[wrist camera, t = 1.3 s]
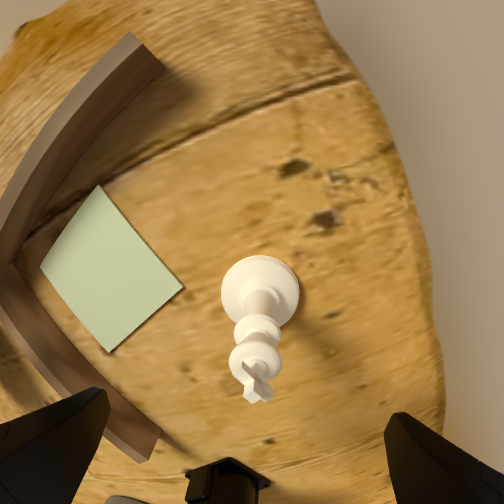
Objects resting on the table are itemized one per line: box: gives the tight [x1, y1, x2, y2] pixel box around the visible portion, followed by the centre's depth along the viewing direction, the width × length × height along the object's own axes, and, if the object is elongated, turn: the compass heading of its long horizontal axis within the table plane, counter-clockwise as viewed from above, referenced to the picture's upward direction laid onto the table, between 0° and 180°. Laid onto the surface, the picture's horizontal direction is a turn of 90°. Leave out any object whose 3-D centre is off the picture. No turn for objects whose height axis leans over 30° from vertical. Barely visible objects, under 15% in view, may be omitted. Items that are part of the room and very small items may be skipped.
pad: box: [40, 185, 183, 353], centre depth 19 cm, size 9×9×1 cm
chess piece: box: [221, 255, 300, 404], centre depth 13 cm, size 5×5×10 cm
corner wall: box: [0, 32, 165, 464], centre depth 17 cm, size 22×22×4 cm
